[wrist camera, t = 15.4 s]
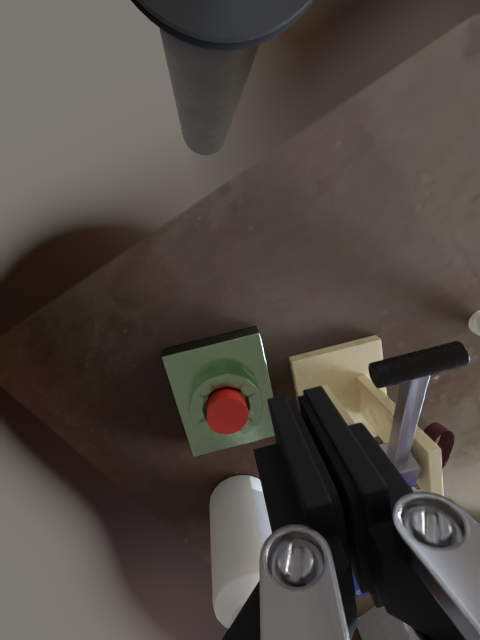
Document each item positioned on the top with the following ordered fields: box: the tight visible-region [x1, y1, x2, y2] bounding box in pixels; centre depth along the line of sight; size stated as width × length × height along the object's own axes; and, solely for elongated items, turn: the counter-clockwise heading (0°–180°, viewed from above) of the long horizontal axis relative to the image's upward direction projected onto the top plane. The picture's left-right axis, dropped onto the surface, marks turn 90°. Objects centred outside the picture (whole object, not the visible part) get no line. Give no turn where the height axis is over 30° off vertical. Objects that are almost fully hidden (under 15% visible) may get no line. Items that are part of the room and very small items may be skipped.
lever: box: [368, 341, 470, 487], centre depth 23 cm, size 13×5×2 cm, turn 13°
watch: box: [414, 422, 454, 489], centre depth 38 cm, size 8×5×4 cm, turn 164°
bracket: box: [289, 335, 443, 496], centre depth 30 cm, size 11×9×13 cm
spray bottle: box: [209, 475, 272, 629], centre depth 31 cm, size 7×7×18 cm
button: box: [206, 388, 248, 435], centre depth 31 cm, size 4×4×2 cm
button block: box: [162, 326, 275, 457], centre depth 33 cm, size 11×9×4 cm
